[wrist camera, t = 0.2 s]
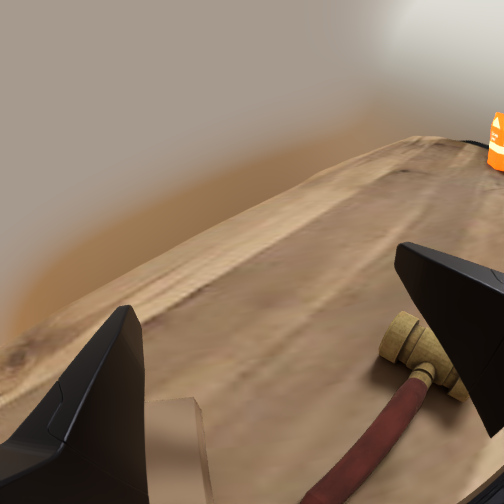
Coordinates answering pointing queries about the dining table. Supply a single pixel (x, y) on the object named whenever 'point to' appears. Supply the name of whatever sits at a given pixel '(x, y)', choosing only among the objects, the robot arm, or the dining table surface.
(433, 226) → the dining table surface
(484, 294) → the robot arm
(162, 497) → the plank
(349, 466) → the gavel
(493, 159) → the orange juice
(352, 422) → the dining table surface
